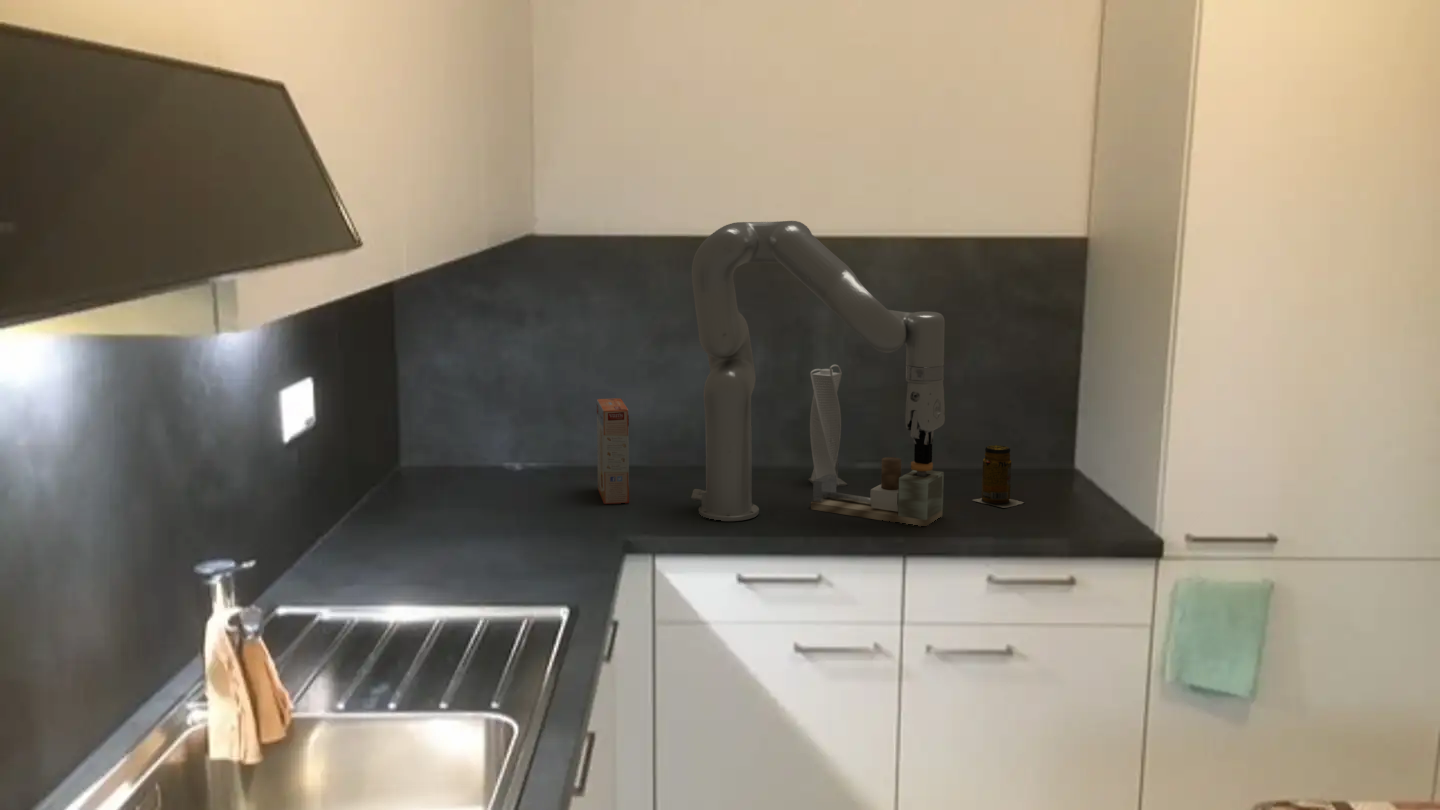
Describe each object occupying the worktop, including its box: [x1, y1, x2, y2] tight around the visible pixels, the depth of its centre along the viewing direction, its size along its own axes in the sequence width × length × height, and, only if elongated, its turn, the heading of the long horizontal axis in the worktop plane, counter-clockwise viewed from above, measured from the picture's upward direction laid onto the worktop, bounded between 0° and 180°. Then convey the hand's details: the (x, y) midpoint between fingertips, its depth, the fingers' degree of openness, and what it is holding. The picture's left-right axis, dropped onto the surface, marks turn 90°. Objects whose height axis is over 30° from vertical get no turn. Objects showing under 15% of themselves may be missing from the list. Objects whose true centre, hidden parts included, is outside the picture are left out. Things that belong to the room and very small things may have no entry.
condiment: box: [972, 444, 1025, 508], centre depth 274 cm, size 7×8×12 cm
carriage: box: [870, 456, 902, 512], centre depth 264 cm, size 6×7×10 cm
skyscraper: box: [807, 364, 848, 487], centre depth 288 cm, size 8×8×28 cm
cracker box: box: [596, 397, 630, 505], centre depth 279 cm, size 14×6×21 cm, turn 11°
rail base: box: [810, 470, 945, 527], centre depth 266 cm, size 26×9×10 cm, turn 58°
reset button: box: [910, 460, 934, 477], centre depth 260 cm, size 4×4×3 cm
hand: (923, 462), depth 259 cm, fingers closed
